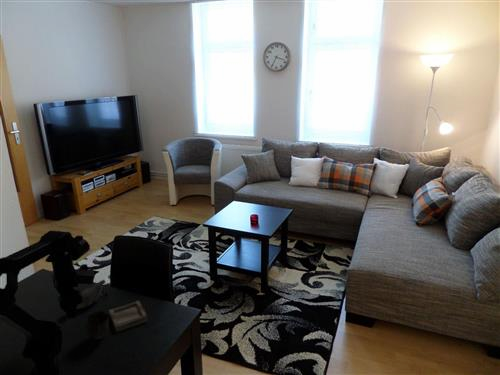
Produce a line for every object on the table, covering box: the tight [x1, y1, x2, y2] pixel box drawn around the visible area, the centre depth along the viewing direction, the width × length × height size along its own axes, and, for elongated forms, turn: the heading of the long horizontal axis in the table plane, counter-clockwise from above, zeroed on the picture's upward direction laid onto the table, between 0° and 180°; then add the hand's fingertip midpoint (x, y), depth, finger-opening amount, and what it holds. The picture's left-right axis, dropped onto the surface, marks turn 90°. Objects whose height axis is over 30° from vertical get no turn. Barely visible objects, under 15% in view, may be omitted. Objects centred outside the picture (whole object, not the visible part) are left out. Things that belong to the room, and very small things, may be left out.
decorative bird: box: [76, 279, 108, 310], centre depth 131 cm, size 5×16×8 cm, turn 145°
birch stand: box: [108, 300, 149, 333], centre depth 125 cm, size 11×11×2 cm
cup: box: [83, 310, 110, 341], centre depth 115 cm, size 8×7×8 cm
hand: (70, 310), depth 111 cm, fingers open, 9 cm apart
